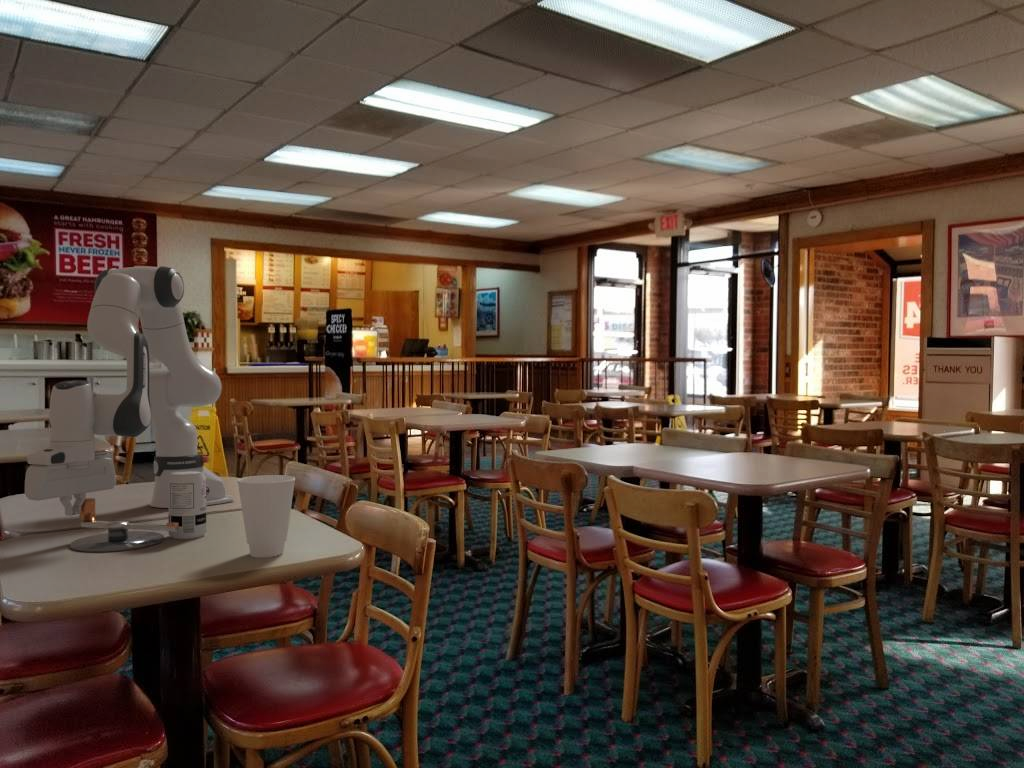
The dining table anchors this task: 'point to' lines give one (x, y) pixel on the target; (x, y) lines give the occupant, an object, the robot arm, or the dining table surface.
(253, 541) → the cup
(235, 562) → the dining table surface
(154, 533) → the dial plate
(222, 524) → the dining table surface
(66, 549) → the dining table surface
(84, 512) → the crank
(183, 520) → the supplement can
